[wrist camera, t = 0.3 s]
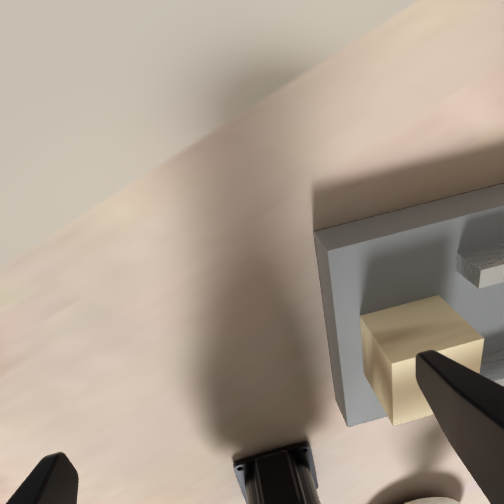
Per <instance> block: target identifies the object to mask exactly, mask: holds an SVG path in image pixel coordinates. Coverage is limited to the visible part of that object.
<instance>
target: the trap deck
mask: <svg viewBox="0 0 504 504" xmlns="http://www.w3.org/2000/svg"><path fill="white" fill-rule="evenodd" d="M314 239H315V247H316V255H317V262H318V270H319V277H320V285H321V292H322V300H323V308H324V315H325V323H326V330H327V338H328V345H329V353H330V361H331V368H332V376H333V383H334V391H335V398H336V402H337V404H338V406H339V409H340V411H341V413H342V415H343V418H344V420H345V422H346V424H347V427H351V426H355V425H358V424H362V423H365V422H369V421H372V420H376V419H380V418H383V417H387V414H386V412H385V410H384V409H383V407H382V405H381V403H380V402H379V400H378V398H377V396H376V394H375V393H374V391H373V389H372V387H371V386H370V384H369V382H368V380H367V379H366V377H365V375H364V368H363V354H362V341H361V327H360V316H361V315H365V314H369V313H373V312H376V311H380V310H384V309H388V308H391V307H395V306H399V305H402V304H406V303H410V302H414V301H417V300H421V299H425V298H429V297H432V296H436V295H439V296H440V297H441V298H442V299H443V300H444V301H445V302H446V303H447V304H448V305H450V306H451V307H452V308H453V309H454V310H455V311H456V312H457V313H458V314H459V315H460V316H461V317H462V318H463V319H464V320H465V321H466V322H468V323H469V324H470V325H471V326H472V327H473V328H474V329H475V330H476V331H477V332H478V333H479V334H480V335H481V336H482V337H483V338H484V344H483V351H482V357H484V356H487V355H491V354H495V353H498V352H502V351H504V282H502V283H498V284H495V285H491V286H487V287H483V288H480V289H478V288H477V287H476V286H475V285H473V284H472V283H471V282H470V281H468V280H467V279H466V278H465V277H463V276H462V275H461V274H460V273H458V272H457V271H456V257H457V253H458V252H462V251H466V250H470V249H474V248H478V247H481V246H485V245H489V244H493V243H497V242H500V241H504V183H503V184H499V185H495V186H491V187H487V188H483V189H479V190H475V191H471V192H467V193H464V194H460V195H456V196H452V197H448V198H444V199H440V200H436V201H432V202H428V203H424V204H420V205H416V206H412V207H409V208H405V209H401V210H397V211H393V212H389V213H385V214H381V215H377V216H373V217H369V218H365V219H361V220H357V221H354V222H350V223H346V224H342V225H338V226H334V227H330V228H326V229H322V230H318V231H314Z"/></svg>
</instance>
